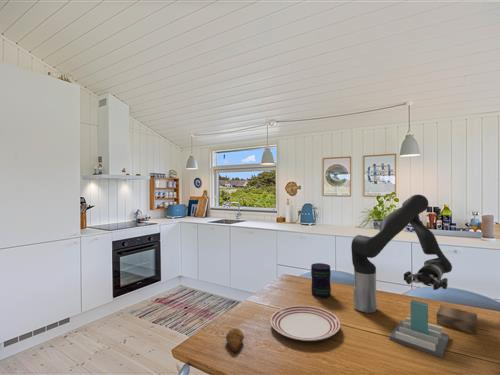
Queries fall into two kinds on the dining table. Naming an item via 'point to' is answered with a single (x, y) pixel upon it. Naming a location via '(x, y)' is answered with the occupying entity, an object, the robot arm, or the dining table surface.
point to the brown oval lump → (235, 339)
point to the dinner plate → (305, 323)
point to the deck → (457, 319)
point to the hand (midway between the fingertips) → (421, 284)
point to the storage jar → (321, 280)
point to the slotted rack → (421, 338)
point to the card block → (419, 317)
